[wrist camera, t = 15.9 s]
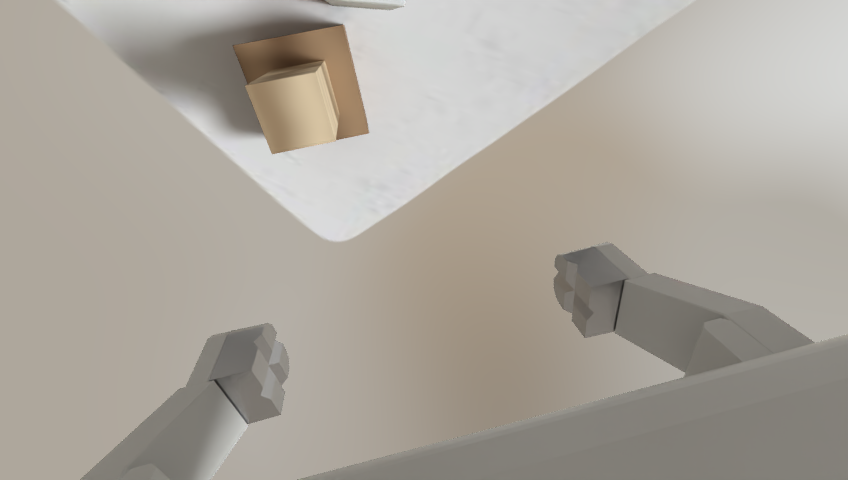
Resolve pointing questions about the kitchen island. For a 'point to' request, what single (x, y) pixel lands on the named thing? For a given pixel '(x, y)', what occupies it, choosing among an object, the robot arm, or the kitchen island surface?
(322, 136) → the oak block
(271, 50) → the walnut block
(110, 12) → the kitchen island surface
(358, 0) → the small box
